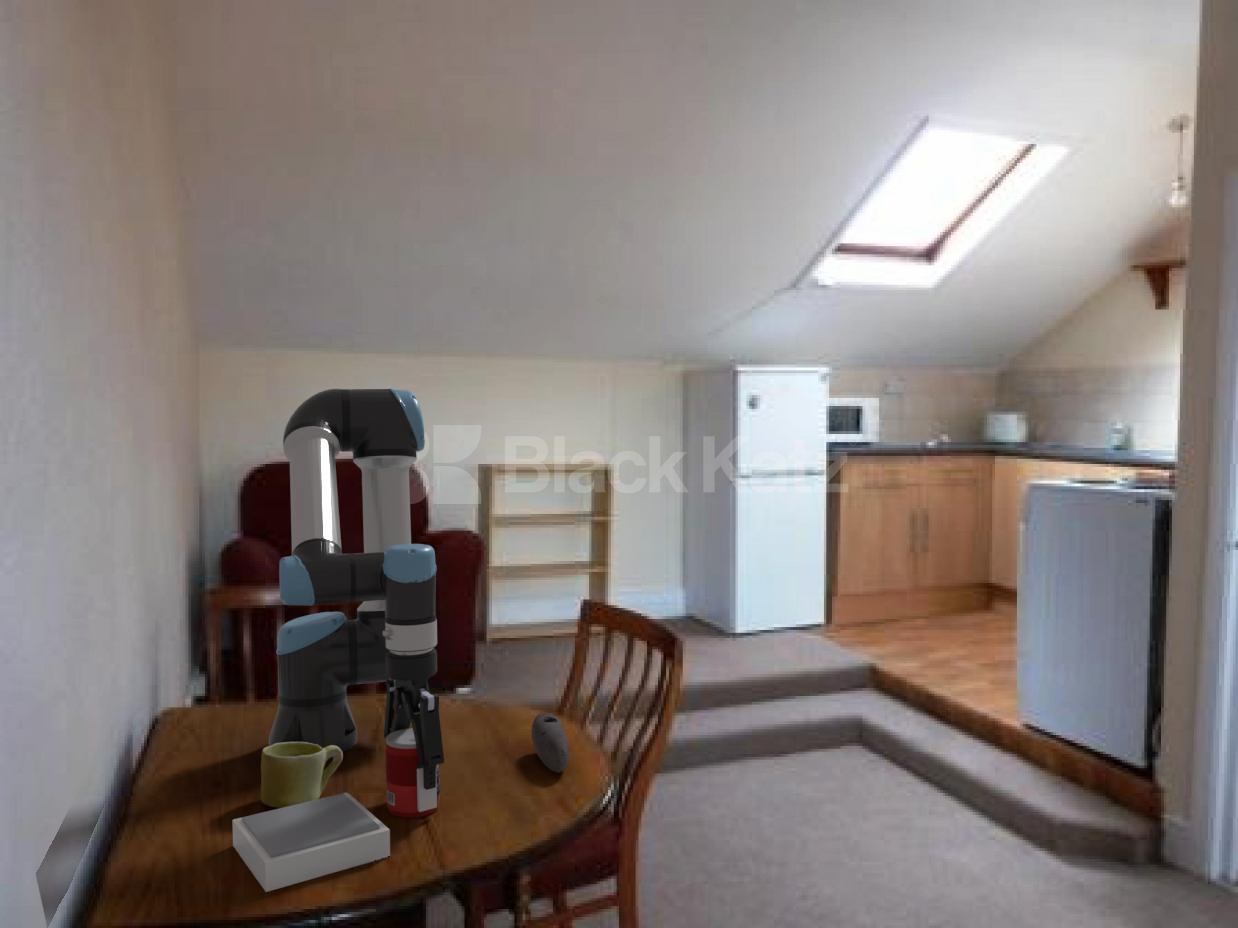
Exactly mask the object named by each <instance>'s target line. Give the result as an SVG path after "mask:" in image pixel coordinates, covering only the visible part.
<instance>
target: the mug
mask: <svg viewBox="0 0 1238 928" xmlns="http://www.w3.org/2000/svg"><path fill="white" fill-rule="evenodd" d="M330 758H332V762H330V763H329V764H328V766H326V768H325V765H326V763H327V762H328V760H329V759H330ZM343 758H344V752H342V751H341V749H340V748H339V747H338V746H335V745H330V746H327V747H325V748H321V747H320V746H319V745H317V744H312V743H308V742H283V743H275V744H273V745H272V746H269V745H268V746H266V747H263V749H262V750H261V760H260V761H261V762H260V771H261V772H260V773H261V774H260V775H261V778H260V780H261V782H260V783H261V785H260V800H261V804H263V805H264V806H268V807H270V808H275V809H279V808H284V807H288V806H292V805H296V804H300V803H305V802H309V801H313V800H317V799H321V798H320V797H321V794H322V793H323V791H324V790H325V789H326V785H327V784H328V781H329V780H330V778H331V776H332V775H333V774H334V773H335V772H336V771H337V769H338V767H339V766H340V765H341V763H342V761H343Z"/></svg>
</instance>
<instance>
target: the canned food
mask: <svg viewBox="0 0 1238 928" xmlns="http://www.w3.org/2000/svg"><path fill="white" fill-rule="evenodd" d="M417 764H420V762H419V757H418V752H417V747H416V742H415V737H414V732H413V727H409V729H402V730H398V731H395V732H392V733H390V734H389V735H387V737H386V739H385V777H386V778H385V781H386V786H385V787H386V807H387V809H388V812H389V813H390V814H391V815H392V816H395V817H397V818H403V819H404V818H405V819H415V818H420V817H421V818H422V817H426V816H429V815H431V814H433V813H435V812H436V811H437V810H438V809H439V806H440V803H441V764H438V765H436V778H437V808H433V809H429V810H425V811H421V812H419V811H418V810H417V769H416V767H415V765H417Z"/></svg>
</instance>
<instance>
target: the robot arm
mask: <svg viewBox="0 0 1238 928" xmlns="http://www.w3.org/2000/svg"><path fill="white" fill-rule="evenodd" d="M282 442H283V444H282V447H283V448H282V449H283V453H284V456H285V457H286V459H287V460H288V461H289V477H290V478H289V481H290V482H289V484H290V525H291V527H290V528H291V529H290V530H291V531H290V532H291V555H290V556H284V557H281V558H280V559H279V567H278V568H279V572H278V573H279V574H278V575H279V598H280V602H281V603H283V604H284V605H286V606H309V607H310V606H313V605H325V604H336V603H337V604H338V603H352V602H353V603H354V602H355V603H356V602H357V603H359V602H362V603H361V604H360V605H359V606H358V607H357V609H356V614H357V616H356V617H357V618H356V619H347V616H346V615H345V613H344V612H342V611H324V612H323V611H322V612H319V613H318V612H317V613H313V614H307V615H304V616H300V617H296V618H294V619H291V620H289V621H287V622H285V623H284V624H282V626H280V628H279V629H278V633H277V648H276V650H275V651H276V655H277V663H278V664H277V666H278V667H277V669H278V671H277V674H278V675H277V676H278V677H277V679H278V680H277V686H278V690H277V691H278V694H277V695H278V706H277V707H278V708H277V711H276V714H275V717H274V720H273V724H272V725H271V726H272V727H271V729H270V732H269V738H268V746H272V745H273V744H275V743H283V742H308V743H312V744H317V745H319V746H320V747H321V748H325V747H327V746H330V745H335V746H338V747H339V748H340V749H341V751H342V753H344V752H346V751H348V750H351V749H352V748H353V747H355V746H356V745H357V743H358V727H357V725H356V722H355V719H354V717H353V714H352V711H351V707H350V706H349V703H348V700H347V699H348V698H347V687H348V686H350V685H351V686H352V685H362V684H364V685H365V684H374V683H383V682H386V683H385V684H386V703H385V716H384V727H383V737H384V739H385V740H386V737H387V735H389V734H390V733H392V732H395V731H398V730H402V729H409V728H413V732H414V737H415V742H416V747H417V752H418V757H419V762H420V764H417V765H415V767H416V769H417V810H418V811H419V812H421V811H425V810H429V809H433V808H437V778H436V765H438V764H440V765H441V764H442V765H443V764H444V763H445V757H444V756H445V755H444V748H443V747H444V746H443V737H442V730H441V719H440V712H439V711H440V710H439V709H440V696H439V694H438V693H435V694H433V693H432V694H431V692H430V688H429V682H428V680H429V678H430V679H431V677H434V676H435V675H436V674H437V672H438V650H437V649H436V648H435V647H436V646H437V644H438V619H437V608H436V607H437V606H436V605H437V603H436V602H437V601H436V600H437V598H436V596H437V593H436V592H437V590H436V589H437V587H436V586H437V583H436V582H437V577H436V576H437V569H438V567H437V564H436V553H435V549H434V548H433V547H432V546H431V545H429V544H423V543H412V531H411V529H412V528H411V527H412V525H411V500H410V499H411V497H410V496H411V495H410V494H411V492H410V468H411V467H412V466H413V465H414V463H416V462H417V459H418V458H417V452H420V451H423V450H424V448H425V442H426V440H425V426H424V420H423V414H422V411H421V405H420V403H419V399H418V398H417V395H415V393H413V392H412V391H410V390H405V389H393V388H371V389H370V388H359V389H357V388H355V389H354V388H349V389H348V388H346V389H344V388H342V389H341V388H331V389H327V390H323V391H322V390H321V391H320V392H317V393H315V394H313V395H311V396H310V397H309V398H307V399H306V400H304V401H303V402H302V403H301V404H300V405H299V406H298V407H297V408H296V409H295V411H293V413H292V415H291V416H290V417H289V419H288V422H287V423H286V426H285V429H284V432H283V439H282ZM340 452H343V453H346V452H349V453H350V452H351V453H352V462H353V463H354V464H355V466H357V467H358V468H359V469H360V470H361V487H362V489H361V490H362V517H363V518H362V521H363V523H362V524H363V526H362V527H363V528H362V529H363V552H358V553H342V539H341V525H340V523H341V522H340V512H339V496H338V495H339V494H338V484H337V470H336V459H337V458H338V456H339V454H340ZM410 725H411V726H412V727H410Z"/></svg>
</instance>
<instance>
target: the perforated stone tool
mask: <svg viewBox="0 0 1238 928" xmlns="http://www.w3.org/2000/svg"><path fill="white" fill-rule="evenodd" d="M531 742H532V745H533V747H534V750H535V753H536V754H537V757H538V758H539V759H540V760H541V762H542V763H543V764H544V765H545V766H546V768H548V769H549V770H550V771H552V772H553V773H555V774H557V773H558V774H559V773H562V772H563V771H564V770H565V768H566V766H567V764H568V759H569V745H568V739H567V736H566V732H565V729H564V728H563V725H562V723H561V721H560V720H559V719H558V717H556V715H554V714H553V713H550V712H541V713H539V714H537V715H536V716H535V717H534V719H533V722H532V726H531Z"/></svg>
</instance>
